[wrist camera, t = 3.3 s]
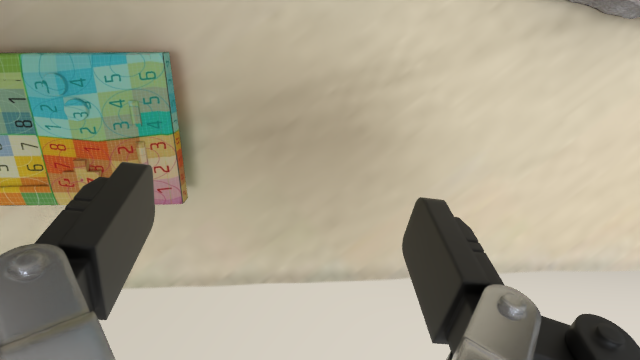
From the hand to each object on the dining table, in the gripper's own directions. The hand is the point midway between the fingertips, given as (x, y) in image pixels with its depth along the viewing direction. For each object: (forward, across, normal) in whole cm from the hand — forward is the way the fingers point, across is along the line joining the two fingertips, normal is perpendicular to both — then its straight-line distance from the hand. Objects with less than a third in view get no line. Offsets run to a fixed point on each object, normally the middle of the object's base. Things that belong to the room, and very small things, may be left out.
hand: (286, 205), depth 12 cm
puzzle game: (+22, +18, +10) cm, 30 cm away
